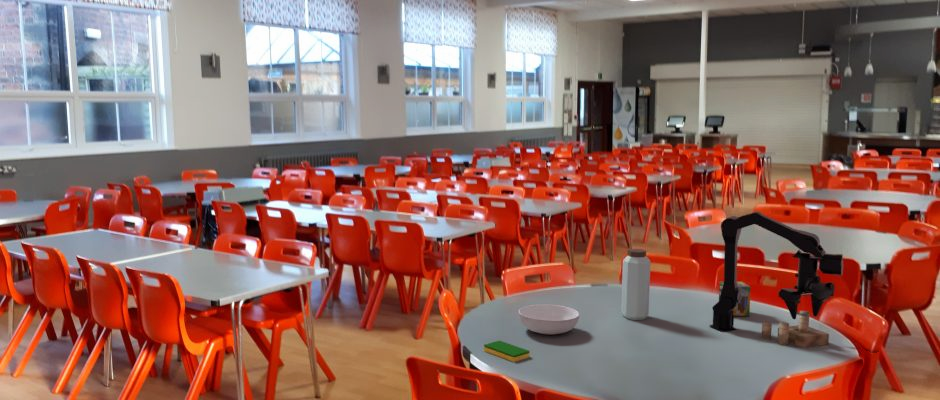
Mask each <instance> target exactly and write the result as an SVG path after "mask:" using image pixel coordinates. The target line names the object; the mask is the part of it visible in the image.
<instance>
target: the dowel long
mask: <svg viewBox="0 0 940 400" xmlns="http://www.w3.org/2000/svg"><path fill="white" fill-rule="evenodd" d="M798 315H799V319H798V325H799V330H798V332H801V333H808V329H809V327H810V326H809V325H810V311H807V310H800V311H799V314H798Z"/></svg>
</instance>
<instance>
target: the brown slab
mask: <svg viewBox="0 0 940 400" xmlns="http://www.w3.org/2000/svg"><path fill="white" fill-rule="evenodd" d="M798 330H799V324H797V325H791V326H790V325H789V335H788V344H789V343H790V344H791V345H795V346H797V347H800V348H803V349H805V348H811V347H817V346H818V347H819V346H825V345H829V342H830V333H828V332H825V331H822V330H819V329H817V328H813V327H811V326H809V329H808V333H801V332H798ZM778 336H779V327H778V328H777V337H778Z"/></svg>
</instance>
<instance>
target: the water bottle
mask: <svg viewBox="0 0 940 400" xmlns="http://www.w3.org/2000/svg"><path fill="white" fill-rule="evenodd" d="M621 274H622V276H621V304H620V305H621V307H620V308H621V309H620V314H621V315H622V318H625V319H627V320H632V321H640V320H645V319H646V318H647V317H648V315H649V312H650V284H651V283H650V282H651V281H650V280H651V260H650V259H649V257H648V256H647V250H646V249H645V250H644V249H641V248H640V249H639V248H631V249H628V250H627V256H625V258H624V259H623V260H622V273H621Z"/></svg>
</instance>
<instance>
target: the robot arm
mask: <svg viewBox="0 0 940 400" xmlns="http://www.w3.org/2000/svg"><path fill="white" fill-rule="evenodd" d="M753 225H757V226H758V227H761V228H762V229H764V230H767V231H769V232H771V233H773V234H775V235H776V236H779V237H781V238H783V239H785V240H787V241H788V242H790V243H791V244H792V245H793V246H794V247H797V248H798V250H797V252H796V253H794V254H793V255H792V258H795V259H798V265H797V266H798V267H797V273H794V276H795V278H797V281H796V282H797V284H796V285H793V286H794V288H789V287H788V288H781V289H779V290H778V298H781V300H783V301H784V303H785V305H786V307H787V309H788V311H789V312H788V313H789V314H790V317H791V319H792V320H796V319H797V314H798V305H799V304H800V303H801V302H802V300H801V298H802V296H803V297H805V296H810V299H811V300H810V301H811V308H812V315H813V317H818V315H819V313H820V310H821V308H822V307H823V305H824V302H826V301H827V300H829V299H831V297H834V293H835V288H836V287H835V283H833V282H831V281H829V282H822V281H821V276H820V275H818V270H819V271H820V272H822V274H824V275H831V276H832V275H833V276H843V271H844V260H843V257H844V256H843V254H842V253H834V254H832V253H826V251H825V249H824V248H823V246H822V245H821V241H820V238H819V236H818V235H817V234H815V233H814V232H813V233H812V232H808V231H806V230H801V229H796V228H793V227H791V226H789V225H787V224H785V223H782V222H780V221H778V220H776V219H773V217H769V216H768V215H765V214H763V213H762V212H760V211H753V212H751V213H746V214H744V215H739V216H736V215H730V216H729V217H726V218H724V219H723V220H722V221H721V223H720V230H721V236H722V240H723V242H724V259H723V260H724V264H723V266H724V267H723V282H724V284H723V287H722V291H721V295H720V299H719V298H718V301H717V302H716V303H715V304H714V305H713V306H712V307H711V308H712V311H713V312H712V324H710V325H709V327H710V328H712V329H715V330H717V331H720V332H726V331H733V330H734V331H735V330H736V329H737V328H736V327H734V325H735V324H734V321H735V316H734V315H733V311H731V310H732V309H733V308H735V307H736V306H737V305H738V304H739V302H740V300H741V299H742V295H741V293H742V287H738V285H737V282H738V281H737V279H738V278H737V276H738V243H739V239H740V236H741V233H742V229H744V228H746V227H749V226H753Z"/></svg>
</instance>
